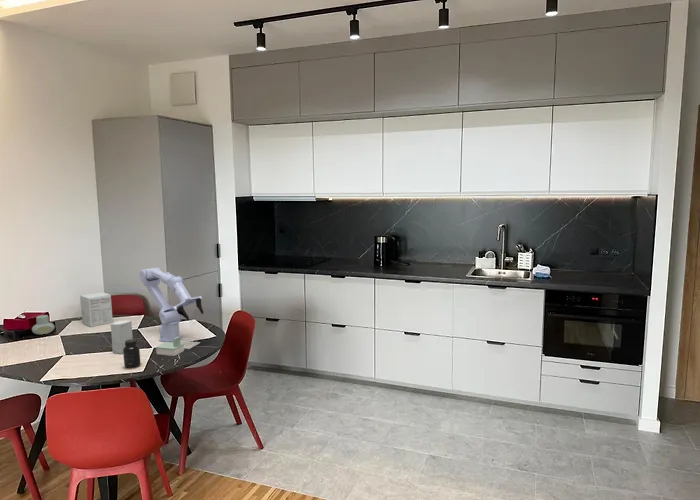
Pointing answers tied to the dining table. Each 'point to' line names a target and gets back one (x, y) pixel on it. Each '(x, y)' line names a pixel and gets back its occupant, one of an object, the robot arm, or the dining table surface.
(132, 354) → the supplement bottle
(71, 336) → the dining table surface
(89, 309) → the supplement box
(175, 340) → the lid
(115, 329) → the skincare box
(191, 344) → the mat
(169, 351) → the tub
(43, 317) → the air freshener
